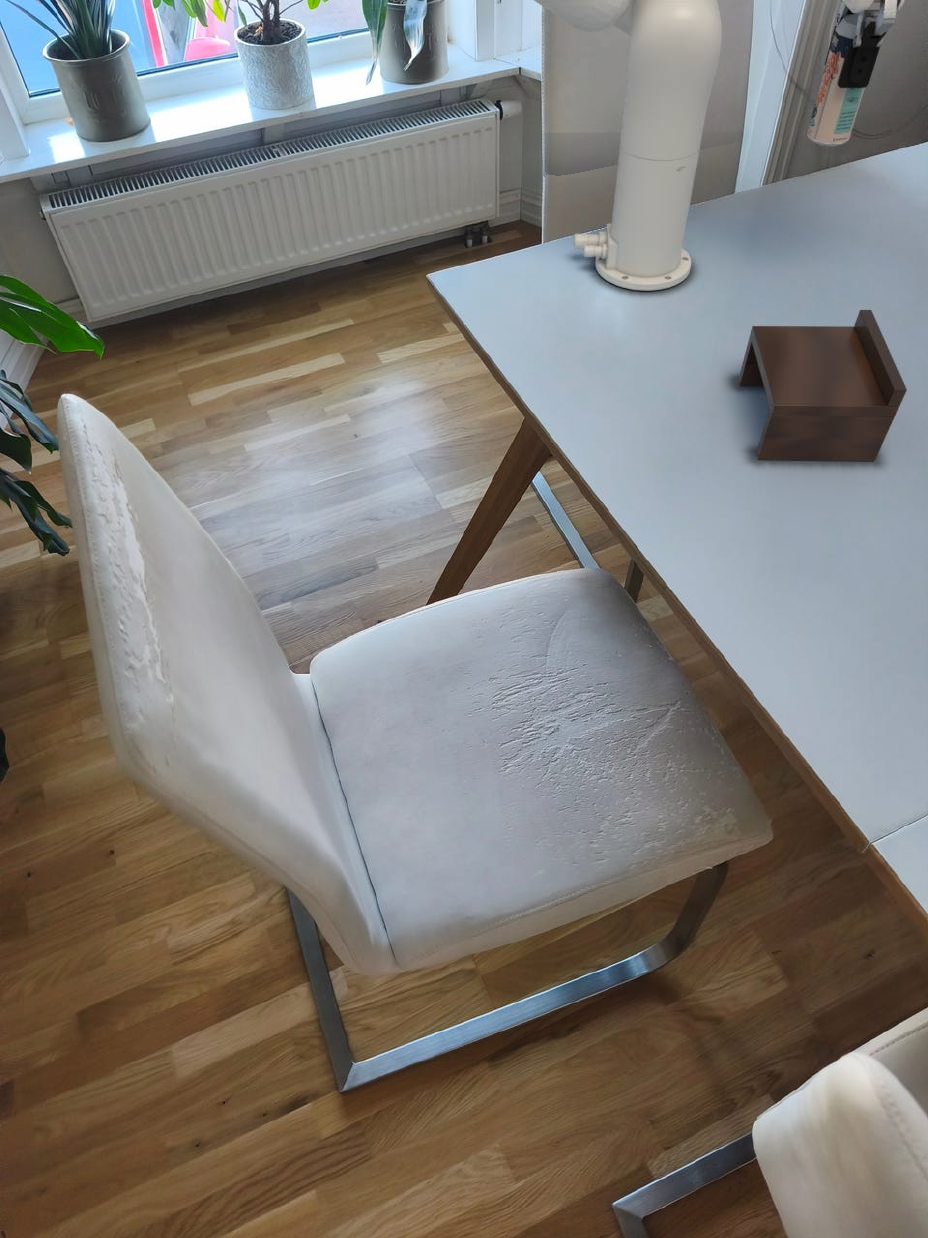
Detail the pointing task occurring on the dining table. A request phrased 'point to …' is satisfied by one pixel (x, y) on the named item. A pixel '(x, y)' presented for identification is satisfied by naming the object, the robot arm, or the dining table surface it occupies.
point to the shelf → (824, 390)
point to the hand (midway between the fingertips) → (845, 74)
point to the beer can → (836, 92)
